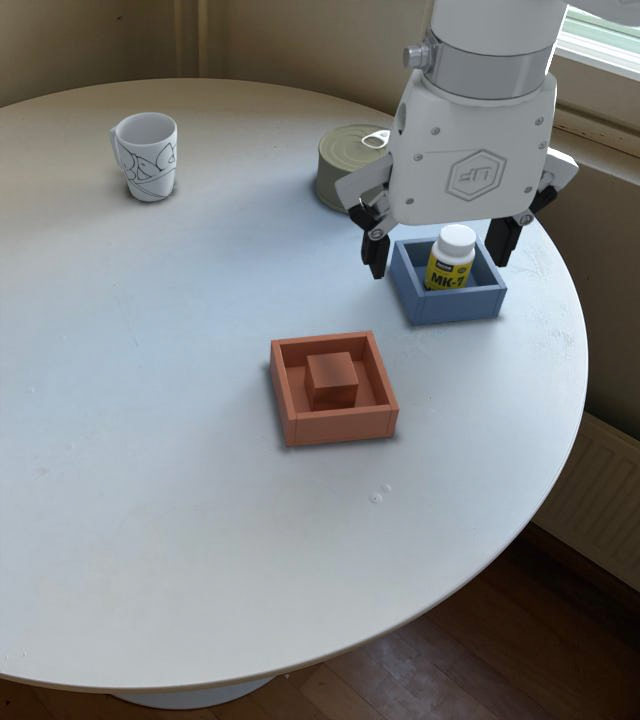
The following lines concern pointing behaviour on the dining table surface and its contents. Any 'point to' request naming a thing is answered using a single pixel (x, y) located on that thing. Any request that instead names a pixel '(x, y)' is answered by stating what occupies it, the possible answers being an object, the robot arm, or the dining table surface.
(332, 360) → the block
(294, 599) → the dining table surface
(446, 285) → the supplement bottle
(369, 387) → the terracotta bin
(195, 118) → the dining table surface
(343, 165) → the can
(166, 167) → the mug
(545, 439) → the dining table surface
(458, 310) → the blue bin
